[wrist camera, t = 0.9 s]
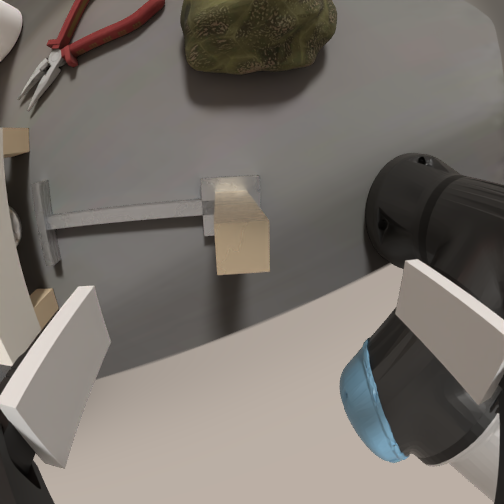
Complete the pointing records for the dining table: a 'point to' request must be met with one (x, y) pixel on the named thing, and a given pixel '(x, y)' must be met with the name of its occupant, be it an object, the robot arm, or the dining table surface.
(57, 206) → the dining table surface
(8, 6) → the wine bottle
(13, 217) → the steel disc
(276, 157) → the dining table surface
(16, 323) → the cabinet
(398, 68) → the dining table surface
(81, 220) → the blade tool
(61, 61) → the pliers
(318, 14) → the decorative rock
